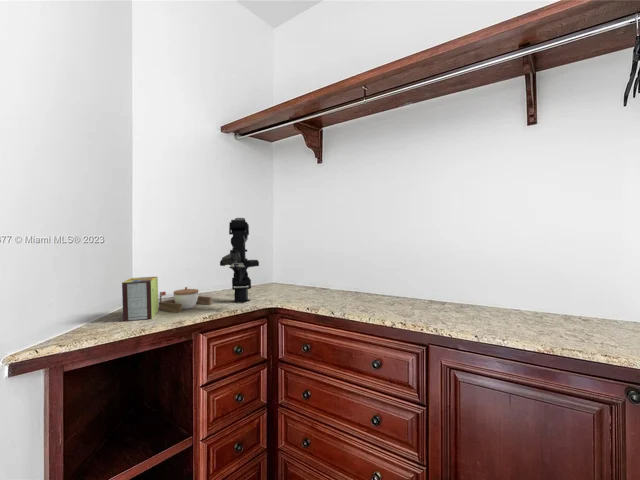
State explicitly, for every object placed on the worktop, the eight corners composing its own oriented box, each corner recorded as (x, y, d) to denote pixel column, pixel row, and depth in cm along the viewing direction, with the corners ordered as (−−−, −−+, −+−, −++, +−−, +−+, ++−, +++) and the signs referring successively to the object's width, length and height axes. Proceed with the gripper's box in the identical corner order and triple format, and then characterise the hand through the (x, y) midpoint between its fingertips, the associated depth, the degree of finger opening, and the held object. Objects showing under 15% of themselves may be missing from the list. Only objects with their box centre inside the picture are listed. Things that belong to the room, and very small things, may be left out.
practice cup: (191, 302, 163) (191, 286, 163) (211, 304, 157) (211, 287, 157) (158, 309, 147) (158, 292, 146) (179, 312, 141) (178, 294, 140)
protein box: (158, 311, 144) (158, 276, 144) (152, 319, 129) (151, 280, 129) (132, 313, 141) (131, 277, 141) (122, 321, 126) (121, 282, 126)
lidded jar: (168, 309, 147) (168, 288, 147) (182, 304, 158) (182, 285, 158) (190, 310, 145) (189, 289, 145) (203, 305, 156) (202, 285, 156)
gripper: (210, 248, 144) (210, 283, 144) (241, 248, 135) (242, 285, 135) (228, 247, 154) (229, 280, 154) (259, 247, 145) (260, 282, 145)
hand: (239, 282), depth 147 cm, fingers closed
